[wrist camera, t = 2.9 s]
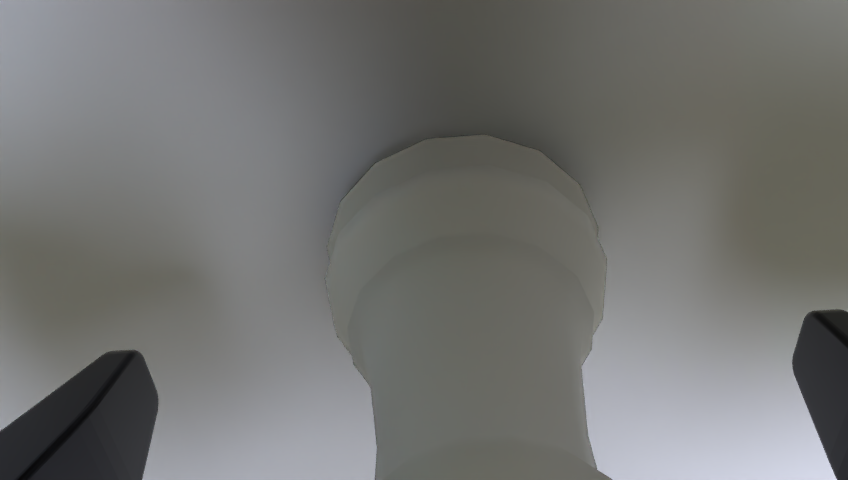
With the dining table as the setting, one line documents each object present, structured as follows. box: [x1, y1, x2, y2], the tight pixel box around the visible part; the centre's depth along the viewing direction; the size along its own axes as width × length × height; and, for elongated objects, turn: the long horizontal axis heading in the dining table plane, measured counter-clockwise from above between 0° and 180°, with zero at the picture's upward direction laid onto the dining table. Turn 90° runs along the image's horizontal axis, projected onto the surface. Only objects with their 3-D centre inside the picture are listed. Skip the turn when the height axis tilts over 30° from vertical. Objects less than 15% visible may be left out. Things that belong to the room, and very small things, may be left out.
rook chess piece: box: [325, 134, 612, 480], centre depth 8 cm, size 4×4×8 cm
